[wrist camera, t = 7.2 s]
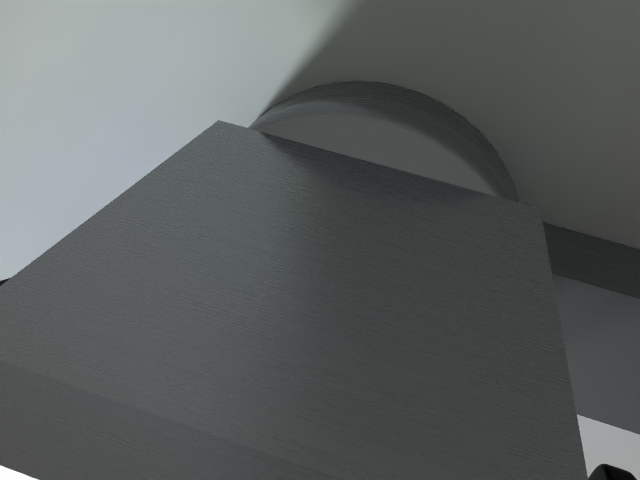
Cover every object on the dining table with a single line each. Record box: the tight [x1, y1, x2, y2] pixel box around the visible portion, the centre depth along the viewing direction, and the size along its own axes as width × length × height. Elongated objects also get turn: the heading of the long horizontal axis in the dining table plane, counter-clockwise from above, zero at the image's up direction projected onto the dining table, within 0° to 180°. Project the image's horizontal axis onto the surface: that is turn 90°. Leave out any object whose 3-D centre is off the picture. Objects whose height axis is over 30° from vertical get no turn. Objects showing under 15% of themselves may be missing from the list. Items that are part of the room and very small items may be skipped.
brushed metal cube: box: [0, 120, 588, 480], centre depth 8 cm, size 6×6×7 cm
